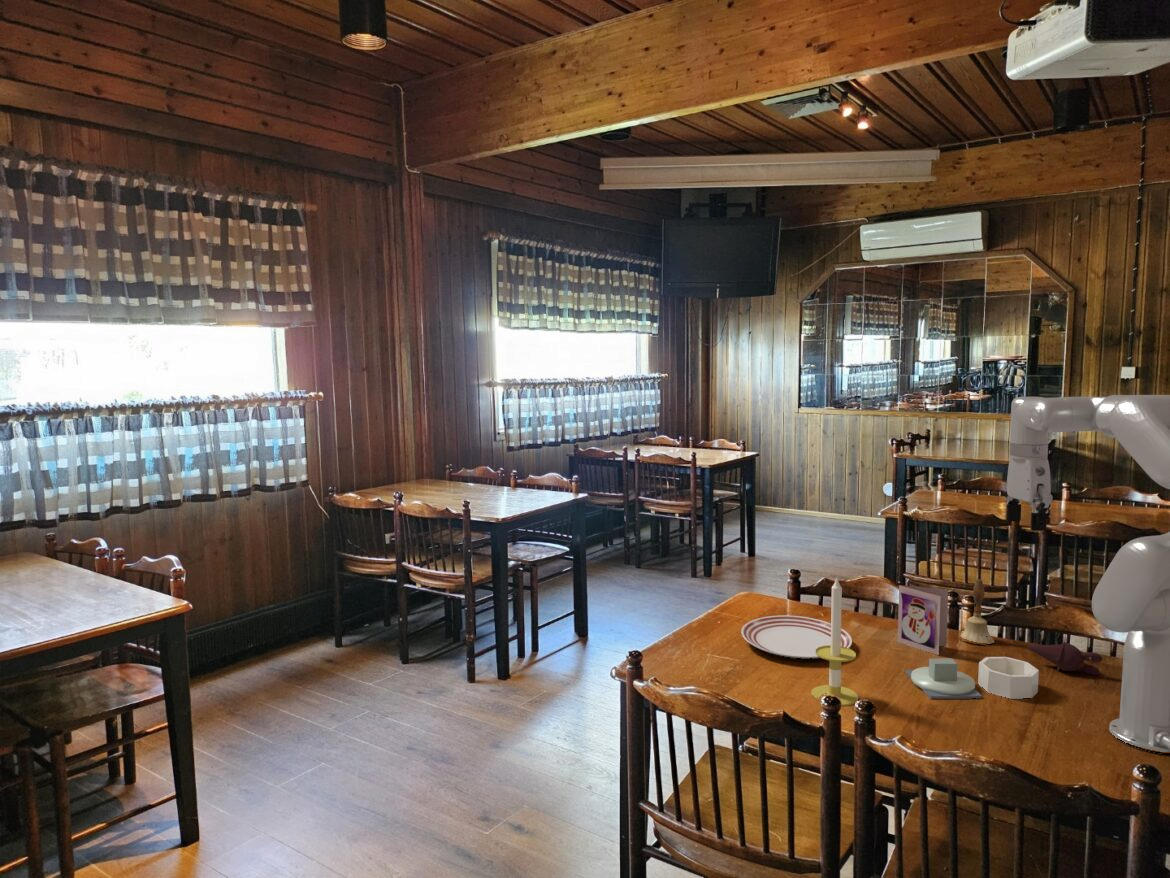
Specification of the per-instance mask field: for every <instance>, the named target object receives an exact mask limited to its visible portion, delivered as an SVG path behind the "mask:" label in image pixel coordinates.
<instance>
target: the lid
mask: <svg viewBox="0 0 1170 878" xmlns="http://www.w3.org/2000/svg"><path fill="white" fill-rule="evenodd" d="M912 670H913V671H912V673H911V678H910V680H911V682H912V683H913V685H915V686H916V687H918V688H919V689H921V688H922V689H925V690H928V691H931V692H934V693H939V694H946V695H963V694H968V693H970V692H972V691H973V690H974V689H975V688H976V682H975V680H974V679H973V678H972V677H971V676H970V675H968V674H966V673H965V672H963V671H959V670H958V662H957V661H955V660H954V659H953V658H949V657H948V658H945V657H944V658H940V657H939V658H929V659H928V666H921V667H918V668H916V669H915V668H914V669H912ZM922 689H921V690H922ZM975 690H976V689H975Z"/></svg>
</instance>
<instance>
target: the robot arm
mask: <svg viewBox="0 0 1170 878" xmlns="http://www.w3.org/2000/svg"><path fill="white" fill-rule="evenodd" d="M1010 408H1011V409H1010V427H1009V428H1010V431H1009V432H1010V433H1009V434H1010V435H1009V456H1008V457H1009V461H1008V467H1007V468H1008V470H1007V475H1006V476H1007V479H1006V481H1005V482H1003V485H1002V486H1003V490H1004V497H1005V504H1006V508H1005V509H1006V512H1005V513H1006V514H1005V517H1006V518H1005V521H1006V522H1010V523H1011V522H1021V520H1022V504H1021V502H1024V503H1026V504H1027V503H1028V504H1029V505H1030V507H1031V509H1032V512H1031V513H1030V528H1029V529H1030V530H1031V531H1033V532H1035V531H1036V532H1038V531H1046V530H1047V517H1048V515H1047V514H1048V513H1049V509H1050V508H1051V503H1052V500H1053V495H1052V494H1051V491H1052V490H1051V485H1052V483H1051V470H1050V469H1051V468H1050V463H1049V459H1048V453H1049V433H1065V432H1066V433H1069V432H1070V433H1071V432H1099V433H1100V432H1101V434H1103V435H1104V436H1106V437H1108V438H1113V439H1116V440H1117V441H1118V442H1119V444H1120V445H1121V447H1123V448H1124V449H1125V451H1126V452H1127V453H1128V454H1129V455H1130V457H1132V459H1134V461H1135V462H1136V463H1137V464H1138V465H1139V466H1140V467H1141V469H1142V470H1143V472H1145V473H1146V475H1148V477H1149V478H1150V479H1152V480H1153V481H1154V482H1155V483H1156V484H1158V485H1159V486H1161V487H1163V488H1165V489H1167V490H1170V394H1111V395H1108V396H1061V397H1060V396H1058V397H1042V396H1017V397H1015V398H1013V399H1012V401H1011V405H1010ZM1093 591H1094V592H1093V594H1092V599H1091V610H1092V613H1093V615H1094V618H1095V619H1096V621H1097V622H1098V624H1099V625H1100V626H1102V627H1104V629H1107V630H1109V631H1110V632H1115V633H1121V634H1122V633H1123V634H1125V633H1127V634H1126V638H1125V640H1124V645H1123V656H1122V658H1123V659H1122V672H1121V674H1122V675H1121V690H1120V705H1119V717H1118V718H1116V719H1113V720H1111V721H1110V723H1109V725H1108V726H1109V728H1108V731H1109V732H1110V733H1112V734H1111V735H1112V736H1113V735H1114V736H1115V737H1114V736H1113V737H1114V738H1116V739H1117V738H1118V739H1120V740H1122V741H1124V742H1125V743H1124V742H1123V743H1124V744H1126V743H1129V744H1131V745H1135V746H1138V747H1142V748H1145V749H1150V750H1155V751H1160V752H1170V531H1168V532H1167V533H1164V534H1160V535H1150V536H1149V535H1148V536H1140V537H1137V538H1134V539H1132V540H1129V541H1128V542H1126V543H1125V544H1124V545H1123V546H1121V548H1119V550H1118V551H1117V552H1116V554H1115V555H1114V557H1113V558H1112V560H1111V562H1110V564H1109V566H1108V567H1107V568H1106V570H1105V572H1104V574H1103V575H1102V577H1101V579H1100V580H1099V582H1098V583H1097V585H1096V586H1095V589H1094V590H1093ZM1120 740H1119V741H1120ZM1122 741H1121V742H1122Z"/></svg>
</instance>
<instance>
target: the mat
mask: <svg viewBox="0 0 1170 878" xmlns="http://www.w3.org/2000/svg"><path fill="white" fill-rule="evenodd" d="M913 670H914V669H905V671H904V672H905V674H906V673H907V674H908V675H907V674H906V675H907V676H908V677H909V678H910V679H911V673H912V671H913ZM920 689H921V691H922V692H923V693H924V694H926V696H927V697H928V698H929V699H930V700H950V699H951V700H953V699H954V700H957V699H959V700H961V699H962V700H963V699H965V700H966V699H969V700H970V699H972V698H976V699H983V695H982V694H981V692H979V691H977V690H976V689H974V690H973V691H972V692H970V693H968V694H963V695H946V694H939V693H934V692H931V691H928V690H925V689H922V688H920Z"/></svg>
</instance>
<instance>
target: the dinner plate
mask: <svg viewBox="0 0 1170 878" xmlns="http://www.w3.org/2000/svg"><path fill="white" fill-rule="evenodd" d="M740 632H741V636H742V637H743V638H744V640H745V641H746V642H747V643H749V644H750V645H752V646H753V647H755V648H757V649H759V650H761V651H764V652H765V653H768V654H771V655H772V654H773V655H775V656H778V655H779V656H778V657H782V656H784V658H787V657H790V658H789V659H796V658H801V659H800V660H806V659H807V660H809V659H810V658H812V659H821V658H820V657H818V656H817V655H816V649H817V648H818V647H821V646H828V645H831V622H828V621H824V620H822V619H818V618H817V619H816V618H812V617H808V616H807V617H806V616H801V615H785V614H782V615H770V616H768V615H767V616H762V617H759V618H755V619H752V620H750V621H748V622H747V623H745V624H744V625H743V626H742V627H741V629H740ZM852 645H853V639H852V637H851V635H850V633H848V632H847V631H846V630H845V629H843V628H842V627H841V646H842V647H846V648H849V649H851V647H852Z"/></svg>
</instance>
